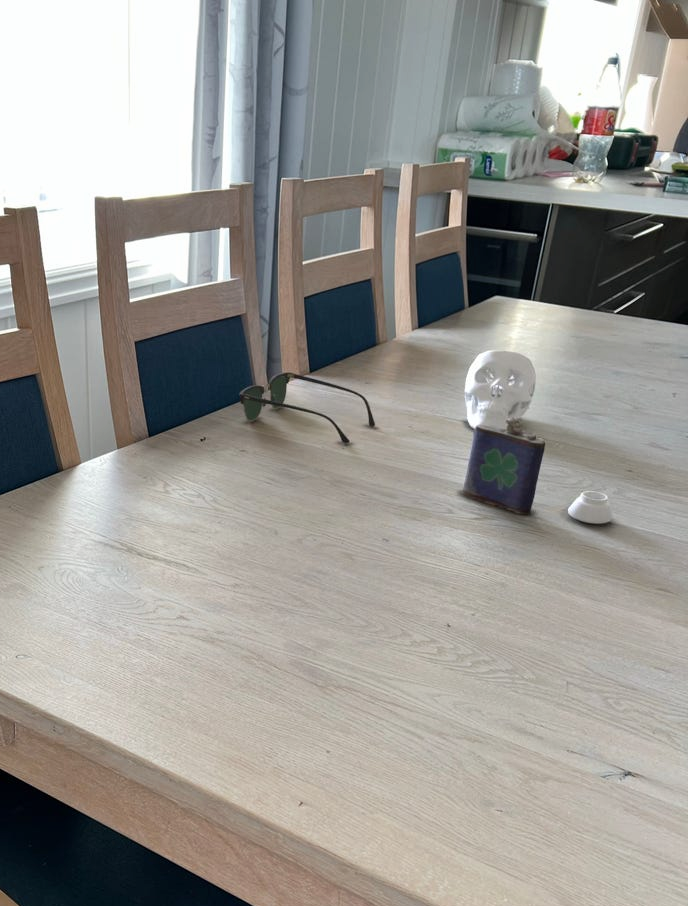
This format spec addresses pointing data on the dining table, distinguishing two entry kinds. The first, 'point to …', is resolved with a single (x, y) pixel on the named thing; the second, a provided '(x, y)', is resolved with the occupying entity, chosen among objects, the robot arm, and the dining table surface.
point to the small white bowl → (591, 508)
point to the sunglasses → (278, 388)
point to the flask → (504, 466)
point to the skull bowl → (499, 388)
